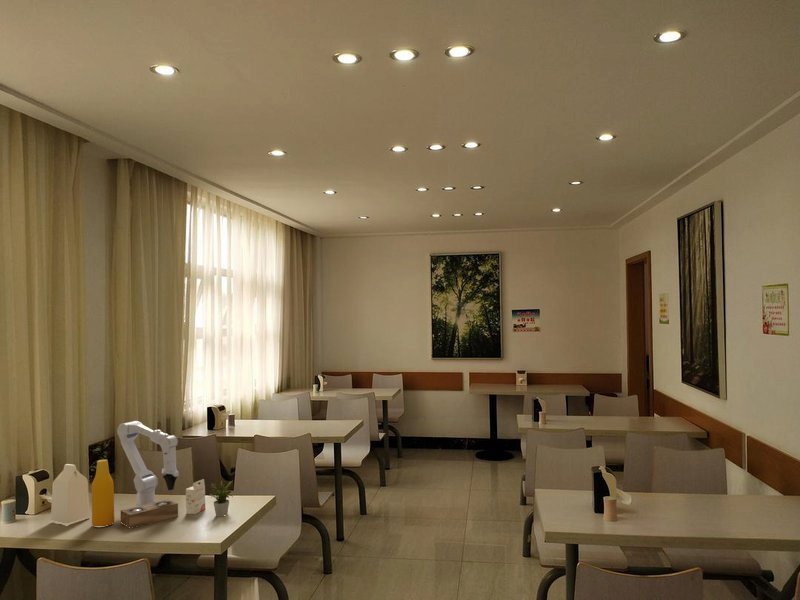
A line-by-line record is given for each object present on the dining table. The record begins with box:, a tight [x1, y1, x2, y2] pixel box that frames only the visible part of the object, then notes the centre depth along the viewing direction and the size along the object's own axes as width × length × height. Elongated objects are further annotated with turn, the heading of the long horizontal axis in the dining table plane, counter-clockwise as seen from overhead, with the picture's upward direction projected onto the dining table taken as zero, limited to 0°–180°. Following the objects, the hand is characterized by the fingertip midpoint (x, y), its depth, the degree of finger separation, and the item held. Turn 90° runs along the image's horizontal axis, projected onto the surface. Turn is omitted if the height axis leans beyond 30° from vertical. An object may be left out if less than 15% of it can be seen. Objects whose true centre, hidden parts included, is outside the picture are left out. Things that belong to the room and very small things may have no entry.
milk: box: [50, 463, 91, 523], centre depth 281 cm, size 12×12×26 cm
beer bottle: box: [91, 459, 115, 527], centre depth 273 cm, size 9×9×29 cm
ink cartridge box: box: [185, 478, 206, 515], centre depth 288 cm, size 9×5×15 cm, turn 161°
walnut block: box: [120, 498, 179, 529], centre depth 278 cm, size 11×22×6 cm, turn 135°
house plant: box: [207, 479, 233, 517], centre depth 281 cm, size 14×14×16 cm
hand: (170, 489), depth 290 cm, fingers closed
